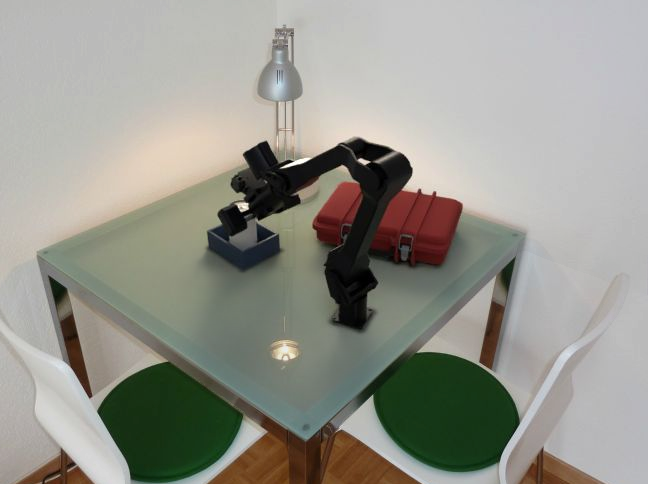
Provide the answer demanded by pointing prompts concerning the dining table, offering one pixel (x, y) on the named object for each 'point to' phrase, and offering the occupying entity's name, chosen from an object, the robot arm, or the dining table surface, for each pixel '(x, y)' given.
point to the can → (248, 235)
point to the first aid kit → (394, 224)
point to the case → (249, 255)
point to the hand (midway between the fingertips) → (243, 220)
